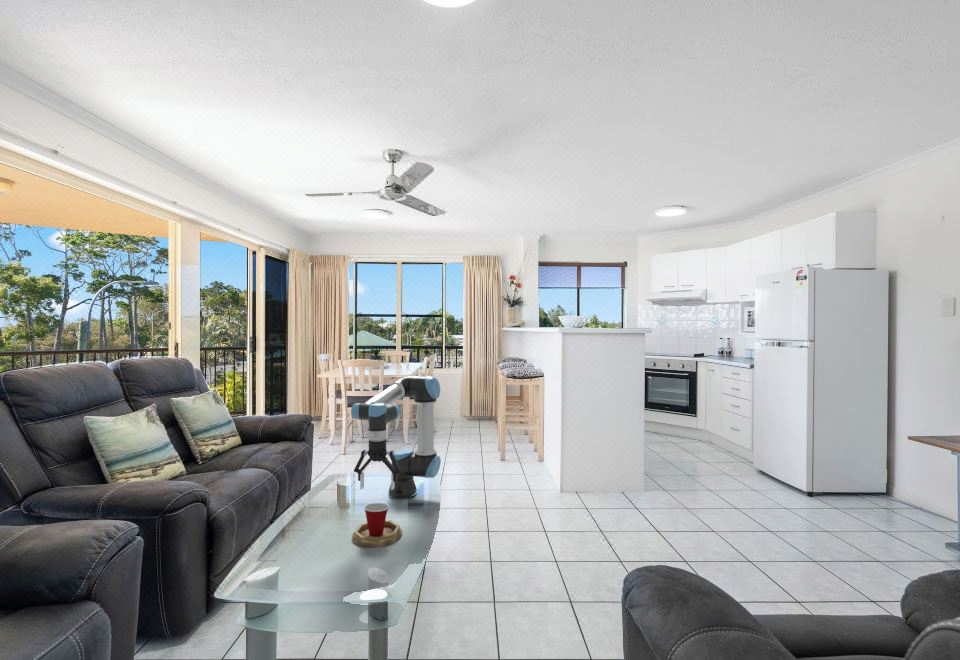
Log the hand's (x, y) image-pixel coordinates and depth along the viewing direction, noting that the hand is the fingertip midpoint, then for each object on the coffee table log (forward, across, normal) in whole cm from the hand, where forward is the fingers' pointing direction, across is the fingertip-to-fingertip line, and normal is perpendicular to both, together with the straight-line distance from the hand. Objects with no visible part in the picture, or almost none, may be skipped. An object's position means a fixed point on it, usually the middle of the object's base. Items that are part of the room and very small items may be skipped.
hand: (377, 488), depth 194 cm
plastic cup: (+20, 0, 0) cm, 20 cm away
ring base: (+20, 0, 0) cm, 20 cm away
